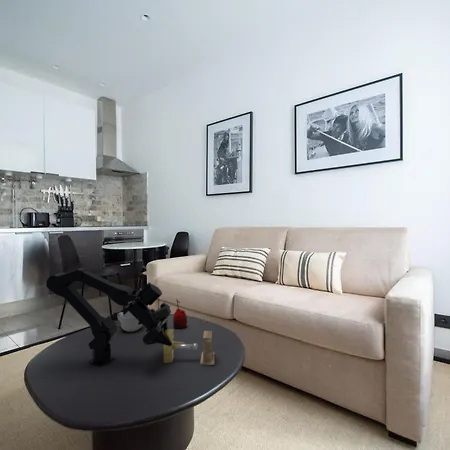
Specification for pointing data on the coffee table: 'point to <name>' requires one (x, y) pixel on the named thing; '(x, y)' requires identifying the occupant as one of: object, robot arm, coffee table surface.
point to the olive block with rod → (174, 346)
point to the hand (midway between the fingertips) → (172, 342)
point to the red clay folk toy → (179, 318)
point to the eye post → (207, 349)
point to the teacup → (128, 322)
